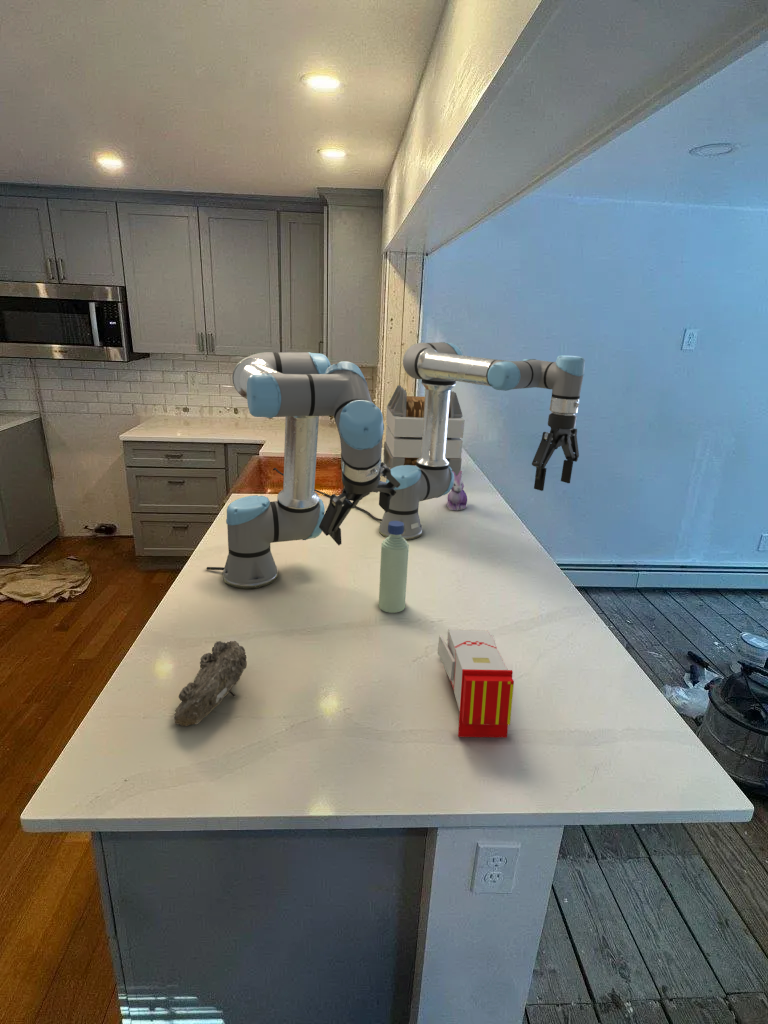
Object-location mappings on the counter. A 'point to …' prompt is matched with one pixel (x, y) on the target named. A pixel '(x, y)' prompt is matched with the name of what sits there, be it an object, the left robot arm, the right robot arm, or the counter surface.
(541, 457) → the right robot arm
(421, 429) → the white slatted crate
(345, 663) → the counter surface
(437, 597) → the counter surface
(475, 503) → the counter surface
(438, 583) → the counter surface
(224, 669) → the fossil
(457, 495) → the figurine
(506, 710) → the toy
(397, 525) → the cap
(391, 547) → the bottle
